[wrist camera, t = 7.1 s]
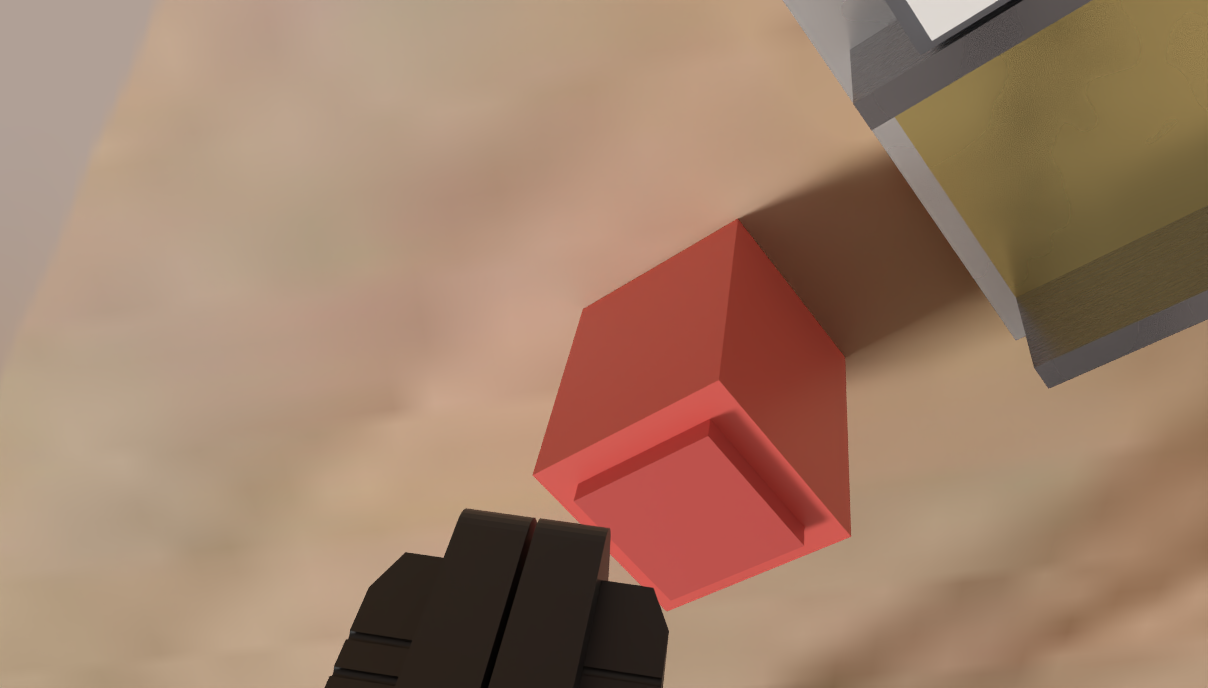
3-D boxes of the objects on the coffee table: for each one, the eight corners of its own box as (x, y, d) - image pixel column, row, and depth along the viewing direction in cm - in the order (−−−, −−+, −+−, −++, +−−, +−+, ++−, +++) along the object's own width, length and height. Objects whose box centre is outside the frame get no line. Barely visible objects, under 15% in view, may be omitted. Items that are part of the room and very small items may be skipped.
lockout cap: (845, 356, 27) (851, 554, 22) (692, 432, 29) (664, 629, 24) (737, 218, 25) (717, 397, 20) (583, 308, 27) (527, 492, 22)
